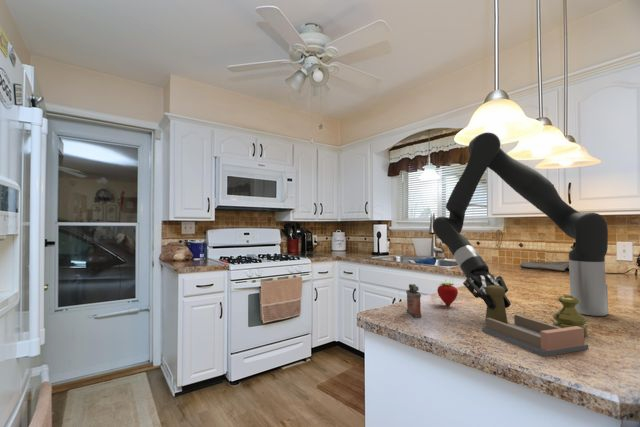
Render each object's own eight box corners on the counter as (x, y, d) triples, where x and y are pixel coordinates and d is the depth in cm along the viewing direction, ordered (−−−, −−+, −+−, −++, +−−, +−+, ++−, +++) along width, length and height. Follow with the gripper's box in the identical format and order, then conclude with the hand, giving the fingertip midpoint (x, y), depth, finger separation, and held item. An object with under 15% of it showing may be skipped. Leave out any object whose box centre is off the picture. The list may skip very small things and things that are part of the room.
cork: (511, 325, 93) (509, 287, 93) (488, 324, 94) (487, 287, 94) (503, 319, 99) (502, 283, 99) (482, 318, 100) (481, 283, 100)
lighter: (404, 311, 109) (403, 282, 110) (414, 311, 110) (413, 282, 110) (413, 318, 101) (412, 287, 102) (423, 318, 102) (422, 286, 102)
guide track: (521, 326, 93) (520, 308, 93) (588, 348, 75) (587, 327, 76) (482, 331, 89) (481, 313, 89) (543, 356, 72) (542, 333, 72)
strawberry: (451, 309, 111) (451, 280, 112) (433, 305, 118) (433, 277, 118) (462, 306, 115) (461, 279, 115) (443, 302, 121) (443, 276, 121)
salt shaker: (582, 329, 89) (580, 293, 89) (591, 338, 82) (590, 299, 83) (550, 326, 92) (549, 291, 93) (557, 334, 85) (555, 297, 86)
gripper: (457, 256, 102) (488, 302, 90) (493, 254, 106) (527, 298, 94) (447, 270, 107) (475, 316, 95) (482, 268, 111) (512, 311, 99)
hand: (500, 307), depth 95 cm, fingers closed on cork, 4 cm apart
